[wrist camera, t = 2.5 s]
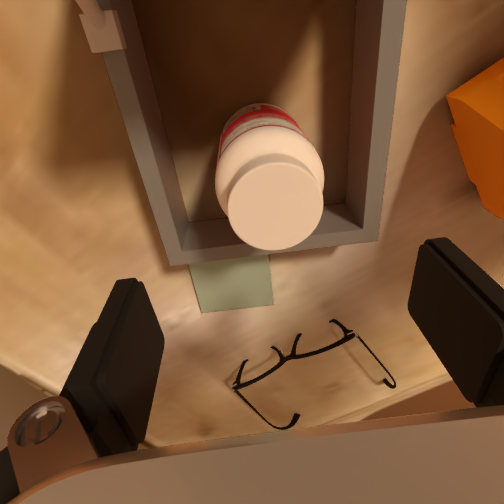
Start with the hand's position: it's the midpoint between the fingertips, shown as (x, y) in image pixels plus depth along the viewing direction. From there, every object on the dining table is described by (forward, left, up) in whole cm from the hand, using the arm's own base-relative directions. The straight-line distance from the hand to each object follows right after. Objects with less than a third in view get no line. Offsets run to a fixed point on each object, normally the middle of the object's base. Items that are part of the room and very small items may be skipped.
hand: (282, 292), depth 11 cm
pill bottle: (0, 0, -17) cm, 17 cm away
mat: (+12, -4, -17) cm, 21 cm away
